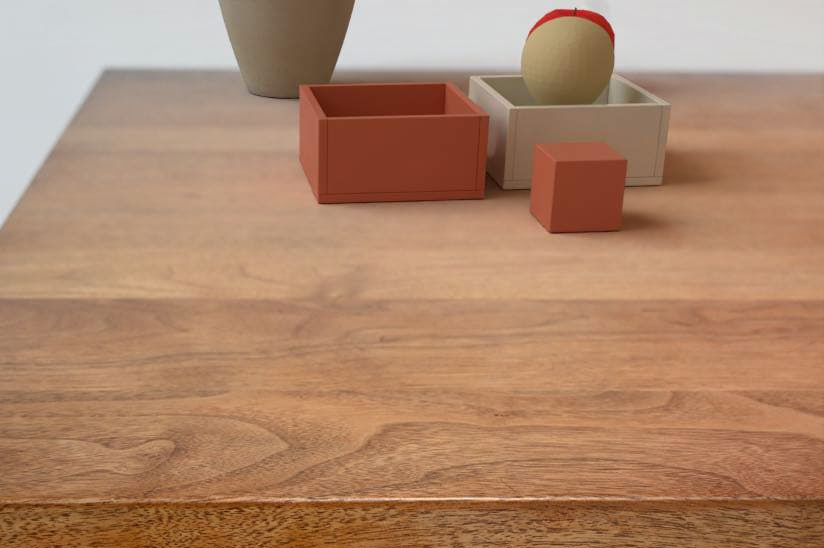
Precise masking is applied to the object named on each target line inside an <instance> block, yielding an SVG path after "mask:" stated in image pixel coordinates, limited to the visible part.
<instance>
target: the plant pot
mask: <svg viewBox="0 0 824 548" xmlns="http://www.w3.org/2000/svg"><path fill="white" fill-rule="evenodd" d="M217 2H218V5H219V9H220V12H221V15H222V19H223V23H224V26H225V30H226V32H227V33H226V34H227V36H228V40H229V42H230V46H231V48H232V51H233V54H234V57H235V60H236V64H237V66H238V68H239V71H240V74H241V76H242V79H243V81H244V83H245V86H246V89H247V91H248V92H249V93H250V94H254V95H257V96H259V97H266V98H279V99H295V98H296V99H297V98H299V99H300V85H320V84H330V83H331V80H332V77H333V74H334V71H335V69H336V65H337V63H338V60H339V58H340V54H341V52H342V48H343V45H344V42H345V38H346V35H347V33H348V29H349V26H350V22H351V18H352V15H353V11H354V7H355V4H356V3H355V2H356V0H217Z"/></svg>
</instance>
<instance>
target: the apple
mask: <svg viewBox="0 0 824 548" xmlns="http://www.w3.org/2000/svg"><path fill="white" fill-rule="evenodd" d="M560 17H579V18H584V19H587V20H590V21H592V22H594V23H596V24H597V25H599V26H600V27H602V28H603V29H604V30H605V31H606V32H607V33H608V35H609V36H610V39H611V41H612V43H613V48H614V50H615V44H616V39H615V38H616V34H615V32H614V29H613V27H612V25H611V23H610V22H609V21H608V20H607V19H606V18H605V16H604V15H602V14H600V13H598V12H595V11H593V10H587V9H577V7H575V6H574V9H571V8H570V9H569V8H555V9H553V10H551V11H549V12H547V13H545V14H544V15H543V16H541V18H540V19H538V21H537V22H535V23H534V25H533V26H532V28H531V29H530V30H529V31H528V35H527V37H526V39H525V42H526V41H527V39H528V37H529V36H530V34H531V33H532V32H533V31H534V30H535V29H536V28H537V27H539V26H540V25H542V24H544V23H546V22H548V21H550V20H553V19H556V18H560Z"/></svg>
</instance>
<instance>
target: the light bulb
mask: <svg viewBox="0 0 824 548" xmlns="http://www.w3.org/2000/svg"><path fill="white" fill-rule="evenodd" d="M527 37H528V36H527ZM526 39H527V38H526ZM615 59H616V58H615V49H614V48H613V43H612V41H611V39H610V36H609V35H608V33H607V32H606V31H605V30H604V29H603V28H602V27H600V26H599V25H597V24H596V23H594V22H592V21H590V20H587V19H584V18H579V17H560V18H556V19H553V20H550V21H548V22H546V23H544V24H542V25H540V26H539V27H537V28H536V29H535V30H534V31H533V32H532V33H531V34H530V36H529V37H528V39H527V41H526V40H525V43H524V46H523V48H522V52H521V58H520V70H521V75H522V76H523V79H524V82H525V84H526V86H527V88H528V90H529V92H530V94H531V95H532V97H533V98H534V100H535V101H536V103H537V104H538V106H552V105H592V104H593V103H594V101H595V100H596V99H597V98H598V97H599V96H600V94H601V93H602V92H603V90H604V89H605V88H606V86H607V84H608V83H609V80H610V78H611V76H612V73H614V69H615Z"/></svg>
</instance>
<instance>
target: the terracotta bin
mask: <svg viewBox="0 0 824 548" xmlns="http://www.w3.org/2000/svg"><path fill="white" fill-rule="evenodd" d="M298 123H299V124H298V125H299V126H298V127H299V130H298V131H299V135H298V136H299V141H298V142H299V143H298V144H299V148H298V149H299V150H298V151H299V154H298V159H299V162H300V165H301V167H302V170H303V172H304V174H305V176H306V178H307V181H308V183H309V185H310V188H311V190H312V192H313V195H314V198H315V200H316V202H317V203H318V204H345V203H347V204H348V203H350V204H351V203H378V202H379V203H380V202H381V203H383V202H385V203H386V202H412V201H415V202H416V201H417V202H418V201H448V200H449V201H451V200H452V201H453V200H483V199H485V192H486V191H485V190H486V175H487V171H486V161H487V146H488V130H489V115H488V114H487V113H486V112H485V111H483V110H482V109H481V108H480V107H479V106H478V105H477V104H476V103H475V102H473V101H472V100H471V99H470V98H469V95H467V94H466V93H464V91H463V90H461V88H459V87H458V86H457V85H456V84H455V83H453V81H425V82H423V81H422V82H419V81H418V82H416V81H415V82H378V83H377V82H375V83H372V82H371V83H337V84H336V83H329V84H320V85H300V97H299V122H298Z"/></svg>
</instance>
